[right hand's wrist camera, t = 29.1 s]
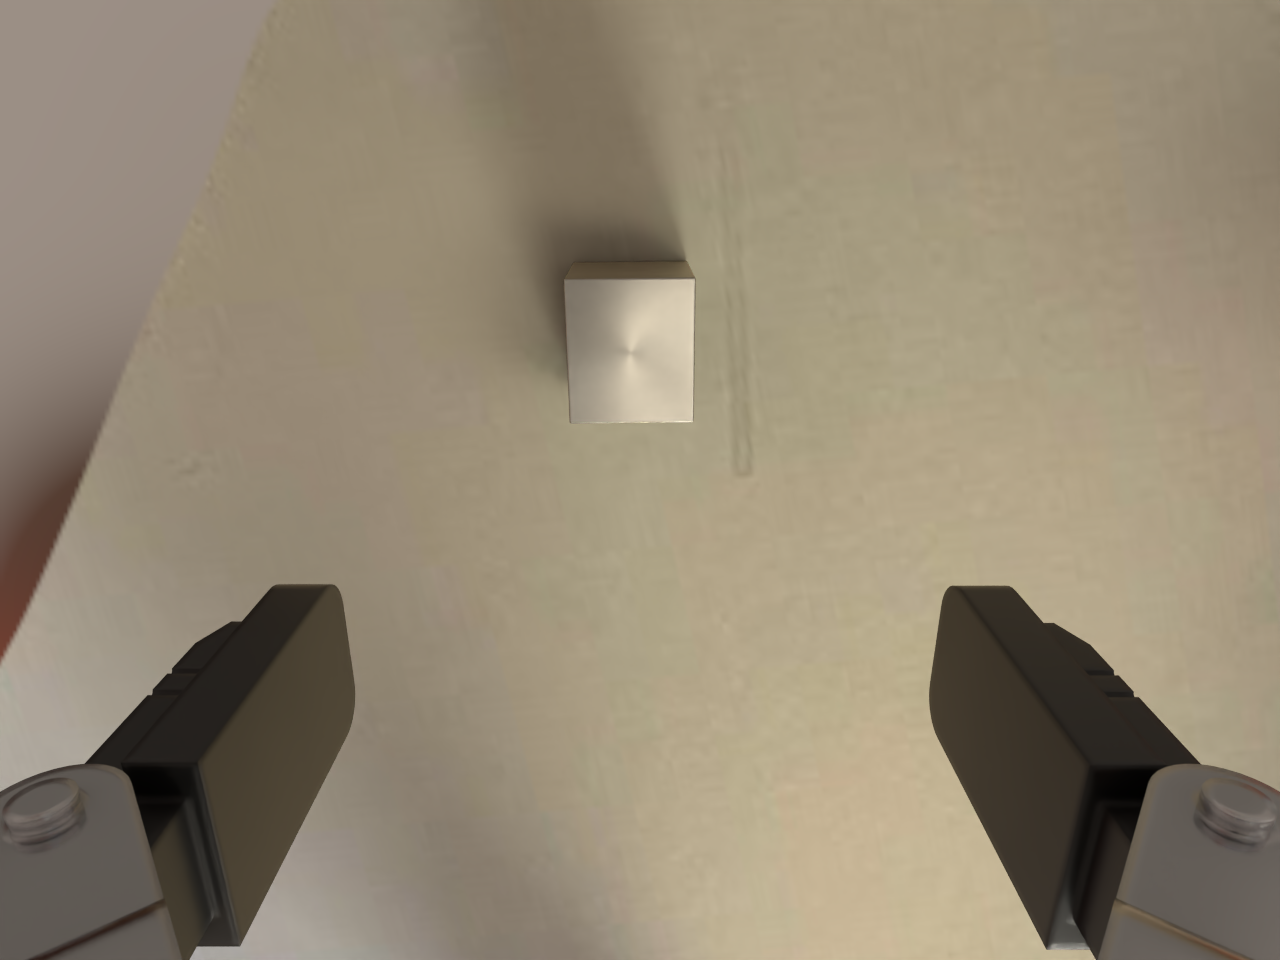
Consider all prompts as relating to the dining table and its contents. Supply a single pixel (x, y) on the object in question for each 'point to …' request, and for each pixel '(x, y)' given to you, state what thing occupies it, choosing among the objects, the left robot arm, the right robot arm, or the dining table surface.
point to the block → (630, 341)
